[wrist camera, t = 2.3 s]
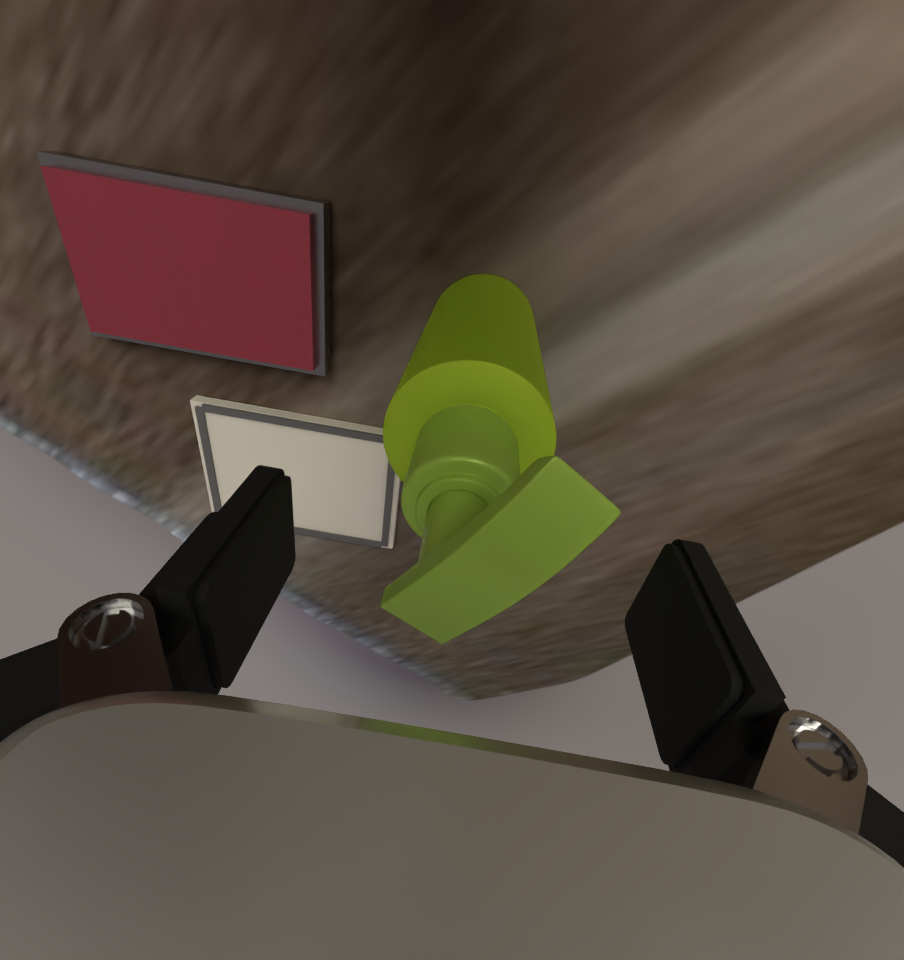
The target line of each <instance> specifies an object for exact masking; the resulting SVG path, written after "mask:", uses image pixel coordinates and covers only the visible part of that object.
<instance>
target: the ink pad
mask: <svg viewBox="0 0 904 960" xmlns="http://www.w3.org/2000/svg"><path fill="white" fill-rule="evenodd" d="M37 155H38V158H39V161H40V164H41V169H42V173H43V176H44V179H45V183H46V186H47V189H48V192H49V196H50V199H51V202H52V206H53V209H54V212H55V215H56V219H57V222H58V225H59V229H60V232H61V235H62V238H63V242H64V245H65V248H66V252H67V255H68V258H69V261H70V265H71V268H72V271H73V275H74V278H75V281H76V284H77V288H78V291H79V294H80V298H81V301H82V304H83V307H84V311H85V314H86V317H87V321H88V324H89V327H90V330H91V332H92V335H94V336H100V337H105V338H111V339H117V340H122V341H128V342H134V343H139V344H145V345H150V346H156V347H162V348H167V349H173V350H178V351H184V352H190V353H195V354H201V355H207V356H212V357H218V358H223V359H229V360H235V361H240V362H246V363H251V364H257V365H263V366H268V367H274V368H280V369H285V370H291V371H296V372H302V373H308V374H313V375H319V376H324V377H325V376H326V375H327V374H328V373H329V371H330V370H331V202H330V201H324V200H319V199H313V198H308V197H302V196H297V195H291V194H286V193H280V192H275V191H269V190H264V189H258V188H253V187H248V186H242V185H237V184H231V183H226V182H220V181H215V180H209V179H204V178H198V177H193V176H187V175H182V174H176V173H171V172H165V171H160V170H154V169H149V168H143V167H138V166H132V165H127V164H122V163H116V162H111V161H105V160H100V159H94V158H89V157H83V156H78V155H72V154H67V153H61V152H52V151H37Z"/></svg>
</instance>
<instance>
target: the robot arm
mask: <svg viewBox="0 0 904 960" xmlns="http://www.w3.org/2000/svg"><path fill="white" fill-rule="evenodd" d="M294 562H295V538H294V519H293V501H292V482H291V478H290V476H286V475H285V473H284V470H283V469H280V468H274V467H269V466H263V465H258V466H256V467H255V468H254V470H253V471H252V472H251V473H250V474H249V476H248V477H247V478H246V479H245V480H244V481H243V483H242V484H241V485H240V486H239V487H238V489H237V490H236V491H235V492H234V493H233V495H232V496H231V497H230V498H229V499H228V500H227V502H226V503H225V504H224V505H223V506H222V508H221V509H220V510H219V511H218V512H212V513H210V514H209V515H208V516H207V517H206V518H205V519H204V520H203V521H202V522H201V523H200V524H199V526H198V527H197V528H196V529H195V530H194V531H193V533H192V534H191V535H190V536H189V537H188V538H187V540H186V541H185V542H184V543H183V544H182V545H181V546H180V548H179V549H178V550H177V551H176V552H175V553H174V555H173V556H172V557H171V558H170V559H169V560H168V562H167V563H166V564H165V565H164V566H163V567H162V568H161V570H160V571H159V572H158V573H157V574H156V575H155V577H154V578H153V579H152V580H151V581H150V583H149V584H148V585H147V586H146V587H145V588H144V589H143V590H142V592H141V593H140V594H139V595H137V594H133V593H115V594H110V595H105V596H102V597H99V598H96V599H94V600H91V601H89V602H87V603H86V604H84V605H82V606H81V607H79V608H77V609H76V610H75V611H74V612H73V613H72V614H70V615H69V616H68V617H67V618H66V619H65V621H64V622H63V624H62V625H61V627H60V628H59V632H58V636H57V639H55V640H52V641H49V642H46V643H44V644H41V645H38V646H35V647H33V648H30V649H27V650H25V651H22V652H19V653H17V654H14V655H11V656H9V657H6V658H3V659H0V960H904V812H902V811H901V810H900V809H899V808H897V807H896V806H895V805H893V804H892V803H891V802H889V801H888V800H887V799H886V798H884V797H883V796H882V795H880V794H879V793H878V792H877V791H875V790H874V789H873V788H871V787H870V786H869V785H868V784H867V783H868V774H867V768H866V765H865V763H864V761H863V758H862V756H861V755H860V753H859V752H858V751H857V749H856V748H855V746H854V745H853V744H852V743H851V741H850V740H849V739H847V737H846V736H845V735H844V734H843V733H842V732H841V731H839V730H838V729H837V728H836V727H834V726H833V725H832V724H831V723H829V722H828V721H826V720H824V719H822V718H821V717H819V716H817V715H815V714H812V713H809V712H806V711H803V710H790V711H789V709H788V707H787V705H786V703H785V701H784V699H785V698H786V697H785V695H784V693H783V691H782V689H781V688H780V686H779V684H778V682H777V680H776V678H775V677H774V675H773V673H772V671H771V669H770V667H769V665H768V663H767V662H766V660H765V658H764V656H763V654H762V652H761V651H760V649H759V647H758V645H757V643H756V641H755V639H754V638H753V636H752V634H751V632H750V630H749V629H748V627H747V625H746V623H745V621H744V619H743V617H742V615H741V614H740V612H739V610H738V608H737V606H736V604H735V602H734V601H733V599H732V597H731V595H730V593H729V591H728V590H727V588H726V586H725V584H724V582H723V580H722V578H721V577H720V575H719V573H718V571H717V569H716V567H715V566H714V564H713V562H712V560H711V558H710V556H709V554H708V553H707V551H706V549H705V547H704V546H703V545H702V544H700V543H696V542H691V541H685V540H679V539H677V540H674V541H673V542H672V543H671V544H666V545H665V546H664V547H663V549H662V551H661V553H660V555H659V556H658V558H657V560H656V562H655V564H654V565H653V567H652V569H651V571H650V573H649V574H648V576H647V578H646V580H645V582H644V583H643V585H642V587H641V589H640V591H639V593H638V594H637V596H636V598H635V600H634V602H633V603H632V605H631V607H630V609H629V611H628V612H627V615H626V618H625V629H626V633H627V636H628V640H629V644H630V647H631V651H632V655H633V658H634V662H635V666H636V669H637V673H638V677H639V681H640V684H641V688H642V692H643V695H644V699H645V703H646V707H647V710H648V714H649V718H650V721H651V725H652V728H653V732H654V736H655V740H656V744H657V747H658V751H659V755H660V757H661V760H662V761H663V763H664V764H667V765H668V766H669V770H670V771H665V770H661V769H655V768H650V767H645V766H639V765H633V764H627V763H622V762H617V761H611V760H605V759H600V758H594V757H589V756H583V755H577V754H572V753H566V752H561V751H555V750H549V749H544V748H538V747H532V746H527V745H521V744H515V743H509V742H504V741H498V740H492V739H486V738H481V737H475V736H469V735H463V734H457V733H451V732H446V731H440V730H434V729H428V728H423V727H417V726H411V725H405V724H399V723H393V722H387V721H381V720H376V719H370V718H364V717H358V716H351V715H346V714H340V713H334V712H327V711H322V710H316V709H310V708H304V707H297V706H292V705H285V704H278V703H272V702H264V701H258V700H251V699H245V698H238V697H232V696H225V695H218V693H219V691H220V689H221V687H223V688H228V687H229V686H230V685H231V683H232V682H233V680H234V678H235V676H236V674H237V672H238V671H239V669H240V667H241V665H242V663H243V661H244V659H245V657H246V655H247V654H248V652H249V650H250V648H251V646H252V644H253V642H254V640H255V639H256V636H257V635H258V633H259V631H260V629H261V627H262V625H263V623H264V621H265V620H266V618H267V616H268V614H269V612H270V610H271V608H272V606H273V605H274V603H275V601H276V599H277V597H278V595H279V593H280V592H281V590H282V588H283V586H284V584H285V582H286V580H287V578H288V576H289V575H290V573H291V571H292V569H293V566H294Z"/></svg>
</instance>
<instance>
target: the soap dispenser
mask: <svg viewBox="0 0 904 960" xmlns="http://www.w3.org/2000/svg"><path fill="white" fill-rule="evenodd" d="M383 443H384V448H385V452H386V455H387V458H388V460H389V463H390V465H391V467H392V468H393V470H394V472H395V473H396V475H397V476H398V477H399V479H400V480H401V481H402V482H403V483H404V484H403V488H402V493H401V507H402V512H403V515H404V517H405V519H406V521H407V523H408V524H409V526H410V527H411V528H412V530H413V531H414V532H415V533H416V534H417V535H419V536H420V537H421V538H422V544H421V548H420V553H419V558H418V563H417V564H415V565H414V566H413V567H412V568H410V569H409V570H408V571H406V572H405V573H404V574H402V575H401V576H400V577H399V578H397V579H396V580H395V581H393V582H392V583H391V584H389V585H388V586H387V587H385V589H384V592H383V596H382V599H381V603H380V607H381V608H382V609H384V610H386V611H387V612H389V613H391V614H392V615H394V616H396V617H397V618H399V619H401V620H402V621H404V622H406V623H407V624H409V625H411V626H412V627H414V628H415V629H417V630H419V631H420V632H422V633H424V634H425V635H427V636H429V637H430V638H432V639H434V640H435V641H437V642H439V643H440V644H444V643H446V642H448V641H450V640H452V639H453V638H455V637H457V636H459V635H461V634H463V633H465V632H467V631H468V630H470V629H472V628H474V627H476V626H477V625H479V624H481V623H483V622H485V621H486V620H488V619H490V618H492V617H493V616H495V615H497V614H498V613H500V612H502V611H503V610H505V609H507V608H508V607H510V606H512V605H513V604H515V603H516V602H518V601H519V600H521V599H522V598H524V597H525V596H527V595H528V594H530V593H531V592H533V591H534V590H535V589H537V588H538V587H540V586H541V585H542V584H544V583H545V582H546V581H548V580H549V579H550V578H551V577H553V576H554V575H555V574H556V573H558V572H559V571H560V570H561V569H563V568H564V567H565V566H566V565H567V564H568V563H570V562H571V561H572V560H573V559H574V558H575V557H577V556H578V555H579V554H580V553H581V552H582V551H583V550H584V549H585V548H587V547H588V546H589V545H590V544H591V543H592V542H593V541H594V540H595V539H596V538H597V537H598V536H600V535H601V534H602V533H603V532H604V531H605V530H606V529H607V528H608V527H609V526H610V525H611V524H612V523H613V522H614V521H615V520H616V519H617V518H618V516H619V515H620V512H621V511H620V510H619V508H618V507H616V506H615V505H614V504H613V503H612V502H611V501H610V500H608V499H607V498H606V497H605V496H604V495H603V494H602V493H601V492H599V491H598V490H597V489H596V488H595V487H594V486H593V485H591V484H590V483H589V482H588V481H587V480H586V479H584V478H583V477H582V476H581V475H580V474H578V473H577V472H576V471H575V470H574V469H573V468H571V467H570V466H569V465H568V464H567V463H565V462H564V461H563V460H562V459H561V458H559V457H557V456H554V453H555V448H556V427H555V422H554V417H553V412H552V407H551V402H550V397H549V391H548V386H547V381H546V376H545V371H544V366H543V361H542V356H541V351H540V346H539V341H538V336H537V331H536V326H535V321H534V316H533V311H532V308H531V306H530V303H529V301H528V300H527V298H526V296H525V295H524V294H523V292H522V291H521V290H520V289H519V288H518V287H517V286H516V285H514V284H513V283H512V282H510V281H508V280H507V279H505V278H502V277H500V276H496V275H491V274H475V275H470V276H467V277H464V278H462V279H460V280H458V281H456V282H455V283H453V284H452V285H451V286H449V287H448V288H447V289H446V290H445V291H444V292H443V294H442V295H441V296H440V298H439V299H438V301H437V303H436V305H435V307H434V309H433V312H432V314H431V316H430V318H429V320H428V322H427V324H426V327H425V329H424V331H423V333H422V335H421V337H420V339H419V342H418V344H417V346H416V348H415V350H414V352H413V354H412V357H411V359H410V361H409V363H408V365H407V367H406V370H405V372H404V374H403V376H402V378H401V380H400V382H399V385H398V387H397V389H396V391H395V393H394V395H393V397H392V400H391V402H390V404H389V406H388V409H387V411H386V415H385V418H384V424H383Z"/></svg>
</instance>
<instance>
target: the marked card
mask: <svg viewBox="0 0 904 960" xmlns="http://www.w3.org/2000/svg"><path fill="white" fill-rule="evenodd" d="M190 403H191V408H192V413H193V418H194V423H195V428H196V433H197V439H198V444H199V449H200V454H201V459H202V464H203V469H204V474H205V479H206V484H207V489H208V495H209V500H210V505H211V510H212V512H218V511H219V510H220V509H221V508H222V506H223V505H224V504H225V503H226V502H227V500H228V499H229V498H230V497H231V496H232V495H233V493H234V492H235V491H236V490H237V489H238V487H239V486H240V485H241V484H242V483H243V481H244V480H245V479H246V478H247V477H248V476H249V474H250V473H251V472H252V471H253V470H254V468H255V467H256V466H258V465H263V466H269V467H274V468H280V469H283V470H284V473H285V475H286V476H290V478H291V482H292V501H293V519H294V533H296V534H302V535H307V536H313V537H319V538H325V539H330V540H336V541H342V542H348V543H353V544H359V545H365V546H371V547H376V548H381V547H384V548H390V549H392V548H393V544H394V539H395V530H396V520H397V511H398V501H399V492H400V482H401V480H400V479H399V477H398V476H397V475H396V473H395V472H394V470H393V468H392V467H391V465H390V463H389V460H388V458H387V455H386V452H385V448H384V443H383V428H379V427H374V426H368V425H362V424H357V423H351V422H345V421H340V420H334V419H328V418H323V417H317V416H312V415H306V414H300V413H295V412H289V411H283V410H278V409H272V408H266V407H261V406H255V405H249V404H244V403H238V402H232V401H227V400H221V399H216V398H210V397H204V396H199V395H196V396H195V397H194V398H192V399H191V400H190Z"/></svg>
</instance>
